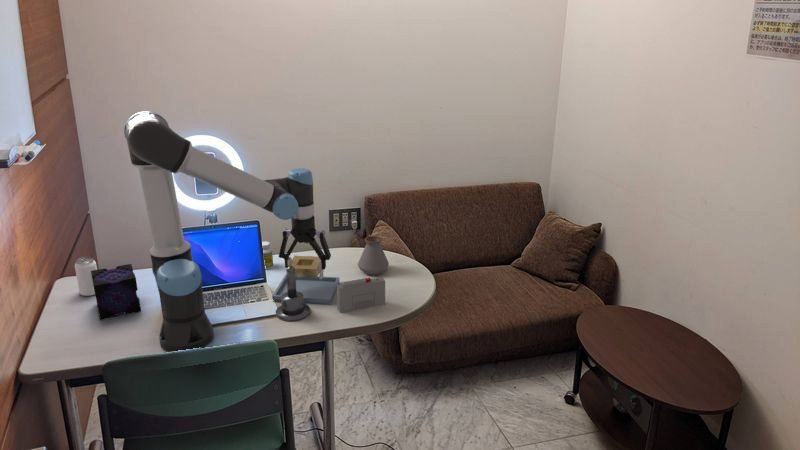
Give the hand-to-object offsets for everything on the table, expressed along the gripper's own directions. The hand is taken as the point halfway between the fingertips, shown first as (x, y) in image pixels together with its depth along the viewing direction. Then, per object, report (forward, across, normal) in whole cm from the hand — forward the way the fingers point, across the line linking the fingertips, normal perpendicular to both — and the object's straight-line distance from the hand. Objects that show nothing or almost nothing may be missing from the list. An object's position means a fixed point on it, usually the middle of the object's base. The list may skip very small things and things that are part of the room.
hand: (306, 276), depth 203 cm
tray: (+6, 0, -1) cm, 6 cm away
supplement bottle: (+6, +20, -19) cm, 28 cm away
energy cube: (+6, +58, +17) cm, 61 cm away
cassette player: (+7, -20, +8) cm, 22 cm away
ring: (-2, 0, -1) cm, 3 cm away
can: (+6, +73, +8) cm, 74 cm away
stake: (+6, +1, +14) cm, 15 cm away
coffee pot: (+7, -19, -25) cm, 32 cm away
